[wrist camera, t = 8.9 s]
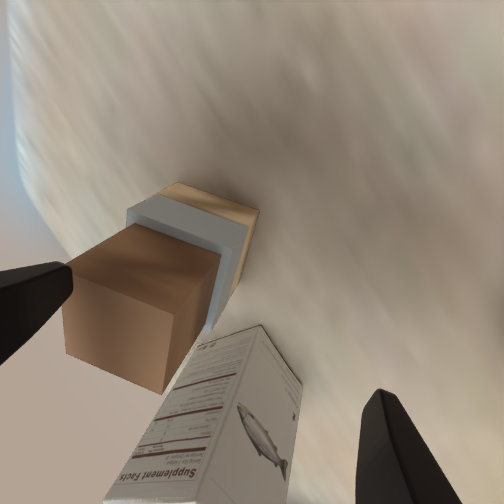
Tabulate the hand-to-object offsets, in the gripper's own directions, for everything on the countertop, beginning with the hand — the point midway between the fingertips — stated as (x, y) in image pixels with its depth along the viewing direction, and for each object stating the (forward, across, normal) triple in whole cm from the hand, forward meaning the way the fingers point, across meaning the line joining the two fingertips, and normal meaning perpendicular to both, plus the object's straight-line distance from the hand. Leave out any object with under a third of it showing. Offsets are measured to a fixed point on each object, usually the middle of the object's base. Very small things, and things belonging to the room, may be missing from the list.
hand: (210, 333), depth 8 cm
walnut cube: (+7, +5, +4) cm, 9 cm away
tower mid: (+10, +5, +4) cm, 12 cm away
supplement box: (+13, -1, +15) cm, 20 cm away
